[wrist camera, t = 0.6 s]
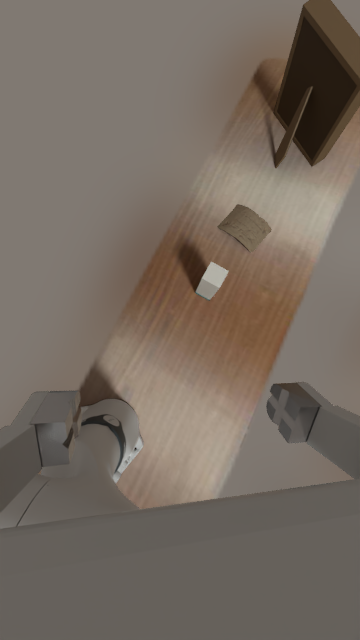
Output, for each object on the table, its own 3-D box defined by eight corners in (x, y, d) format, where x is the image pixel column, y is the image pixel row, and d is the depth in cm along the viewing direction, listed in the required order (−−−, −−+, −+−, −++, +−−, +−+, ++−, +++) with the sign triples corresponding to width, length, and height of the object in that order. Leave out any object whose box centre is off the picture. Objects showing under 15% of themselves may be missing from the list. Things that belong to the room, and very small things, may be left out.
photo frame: (284, 107, 71) (343, -21, 46) (322, 160, 69) (406, 57, 45) (246, 127, 70) (286, 6, 45) (284, 182, 68) (348, 87, 43)
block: (209, 300, 62) (219, 288, 49) (195, 292, 62) (201, 278, 49) (216, 287, 63) (228, 271, 50) (202, 279, 63) (211, 261, 50)
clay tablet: (273, 233, 66) (277, 228, 64) (253, 258, 65) (257, 254, 62) (233, 203, 67) (236, 197, 64) (213, 227, 66) (215, 222, 63)
